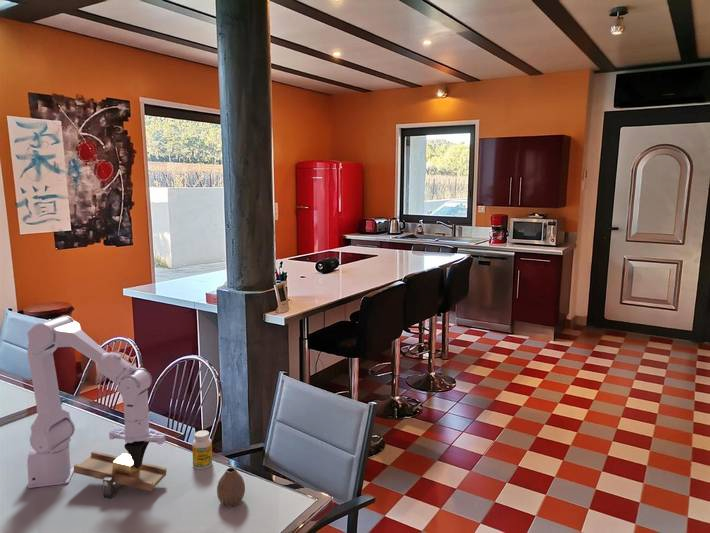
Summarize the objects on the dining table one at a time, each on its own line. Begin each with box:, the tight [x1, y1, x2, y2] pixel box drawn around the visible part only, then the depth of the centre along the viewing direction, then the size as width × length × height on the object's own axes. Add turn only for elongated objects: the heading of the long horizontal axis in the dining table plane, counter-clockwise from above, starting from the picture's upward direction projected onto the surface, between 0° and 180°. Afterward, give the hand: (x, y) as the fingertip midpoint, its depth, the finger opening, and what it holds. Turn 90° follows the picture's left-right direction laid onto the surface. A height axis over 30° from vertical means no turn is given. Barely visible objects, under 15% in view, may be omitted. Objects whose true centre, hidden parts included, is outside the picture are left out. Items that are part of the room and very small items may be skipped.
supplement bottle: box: [191, 429, 213, 470], centre depth 146 cm, size 5×5×10 cm
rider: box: [112, 452, 140, 477], centre depth 134 cm, size 5×5×4 cm
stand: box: [102, 477, 126, 499], centre depth 135 cm, size 2×12×5 cm, turn 171°
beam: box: [73, 450, 168, 492], centre depth 135 cm, size 22×8×2 cm, turn 81°
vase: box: [216, 467, 246, 508], centre depth 129 cm, size 7×7×9 cm
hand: (138, 466), depth 134 cm, fingers closed
